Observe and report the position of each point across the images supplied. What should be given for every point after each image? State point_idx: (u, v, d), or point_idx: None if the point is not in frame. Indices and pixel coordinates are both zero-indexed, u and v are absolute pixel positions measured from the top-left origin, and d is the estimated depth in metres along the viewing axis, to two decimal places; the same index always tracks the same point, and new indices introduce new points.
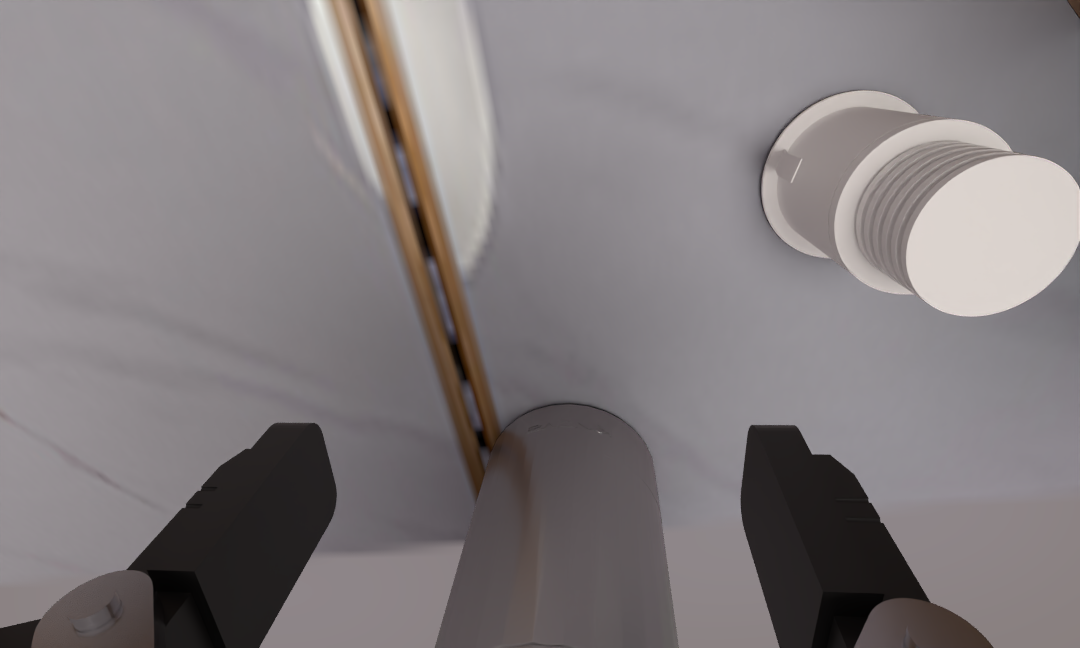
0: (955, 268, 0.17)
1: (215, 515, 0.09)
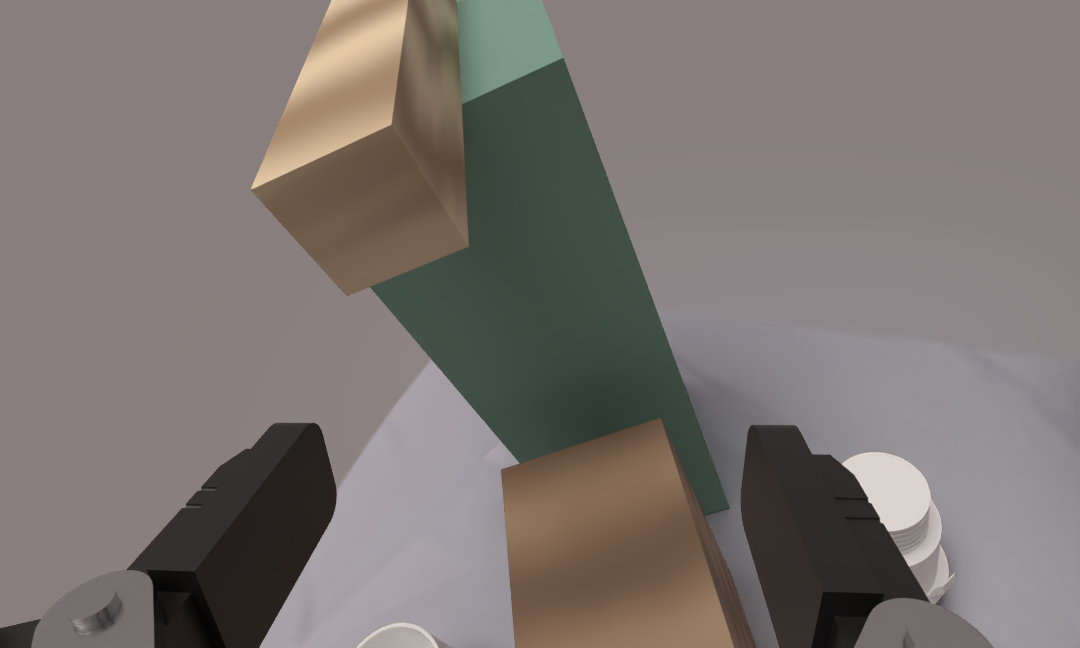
0: (901, 483, 0.32)
1: (215, 515, 0.09)
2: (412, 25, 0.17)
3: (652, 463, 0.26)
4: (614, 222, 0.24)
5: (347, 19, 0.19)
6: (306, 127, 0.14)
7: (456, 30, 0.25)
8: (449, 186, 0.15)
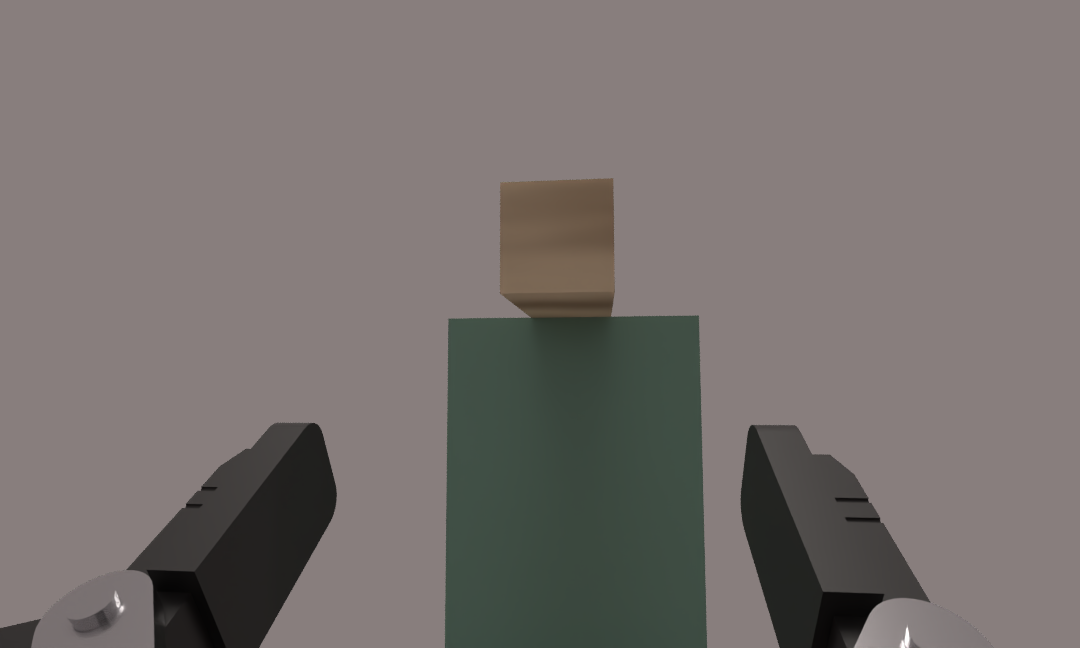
0: None
1: (215, 515, 0.09)
2: None
3: None
4: (694, 484, 0.25)
5: None
6: None
7: None
8: None
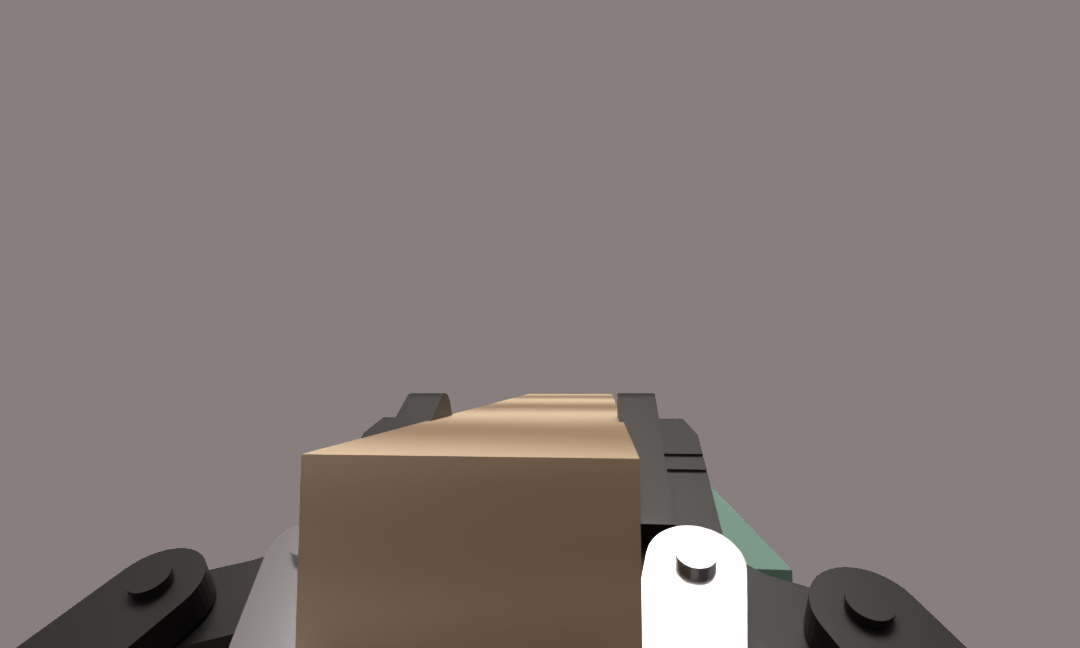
0: None
1: None
2: None
3: None
4: None
5: (528, 405, 0.15)
6: (449, 435, 0.08)
7: None
8: None
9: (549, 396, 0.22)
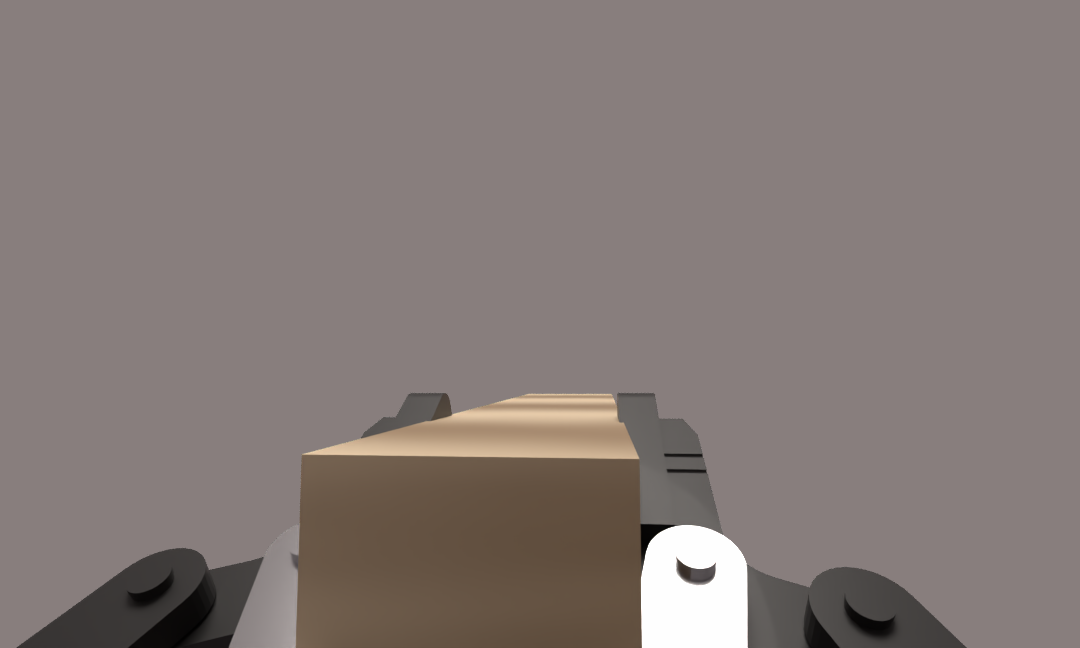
0: None
1: None
2: None
3: None
4: None
5: (528, 405, 0.15)
6: (448, 435, 0.08)
7: None
8: None
9: (549, 396, 0.22)
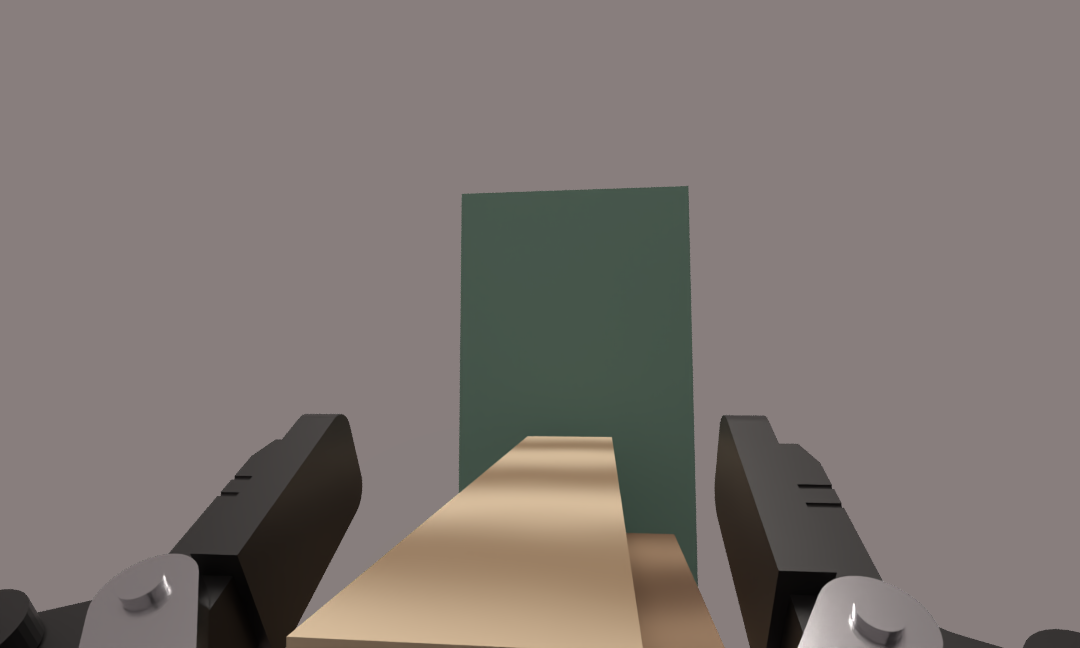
0: None
1: (252, 501, 0.09)
2: None
3: (654, 549, 0.21)
4: (683, 335, 0.27)
5: (526, 475, 0.15)
6: (443, 571, 0.08)
7: None
8: None
9: (548, 444, 0.22)
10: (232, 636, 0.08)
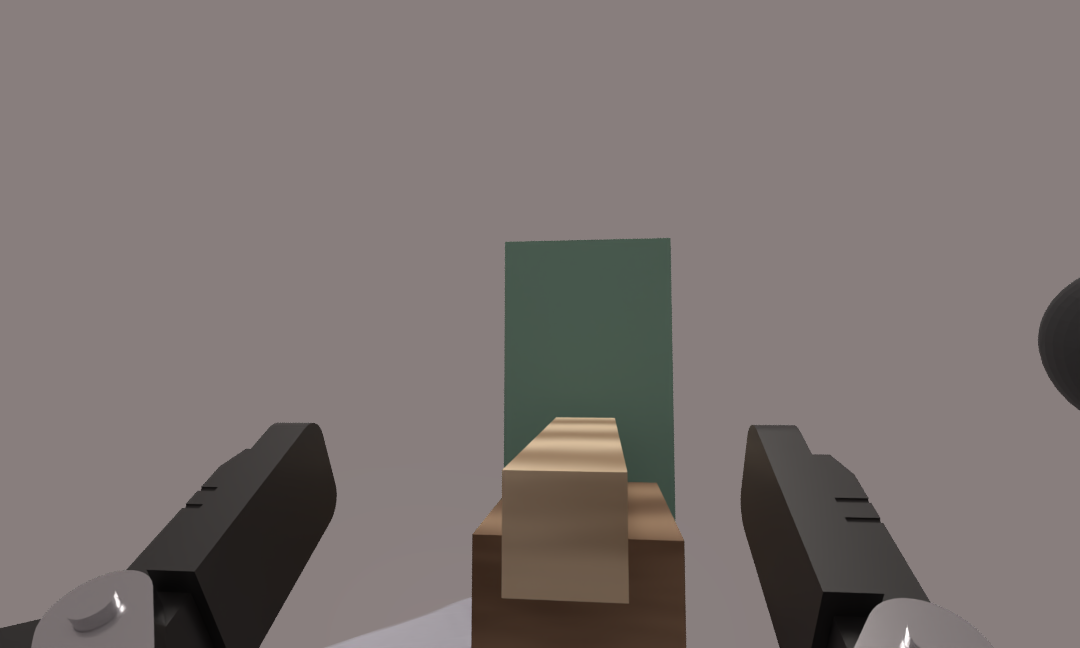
0: None
1: (215, 515, 0.09)
2: None
3: (642, 489, 0.31)
4: (666, 346, 0.38)
5: (565, 434, 0.26)
6: (545, 459, 0.19)
7: None
8: None
9: (572, 421, 0.33)
10: None
